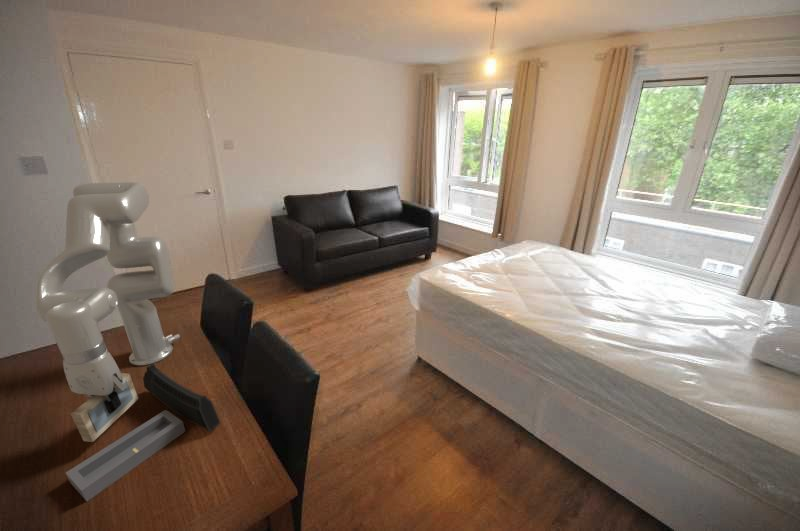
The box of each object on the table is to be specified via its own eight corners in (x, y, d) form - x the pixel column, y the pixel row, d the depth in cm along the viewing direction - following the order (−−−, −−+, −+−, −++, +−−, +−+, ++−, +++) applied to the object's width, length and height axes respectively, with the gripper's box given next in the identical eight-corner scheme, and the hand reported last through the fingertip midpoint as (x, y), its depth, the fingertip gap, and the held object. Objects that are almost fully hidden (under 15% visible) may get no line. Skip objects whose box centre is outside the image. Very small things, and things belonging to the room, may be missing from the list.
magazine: (221, 404, 86) (151, 344, 95) (209, 413, 83) (138, 350, 92) (220, 442, 94) (155, 383, 103) (209, 451, 92) (144, 390, 101)
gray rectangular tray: (168, 419, 92) (165, 409, 91) (185, 431, 89) (182, 421, 87) (70, 483, 75) (65, 472, 74) (86, 501, 71) (81, 490, 70)
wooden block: (130, 398, 94) (121, 373, 91) (139, 398, 94) (130, 373, 91) (83, 441, 81) (70, 413, 78) (93, 441, 81) (81, 414, 78)
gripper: (36, 358, 76) (65, 417, 83) (103, 364, 75) (126, 423, 83) (68, 339, 83) (93, 395, 90) (130, 343, 82) (149, 400, 89)
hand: (109, 408), depth 86 cm, fingers closed on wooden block, 2 cm apart
